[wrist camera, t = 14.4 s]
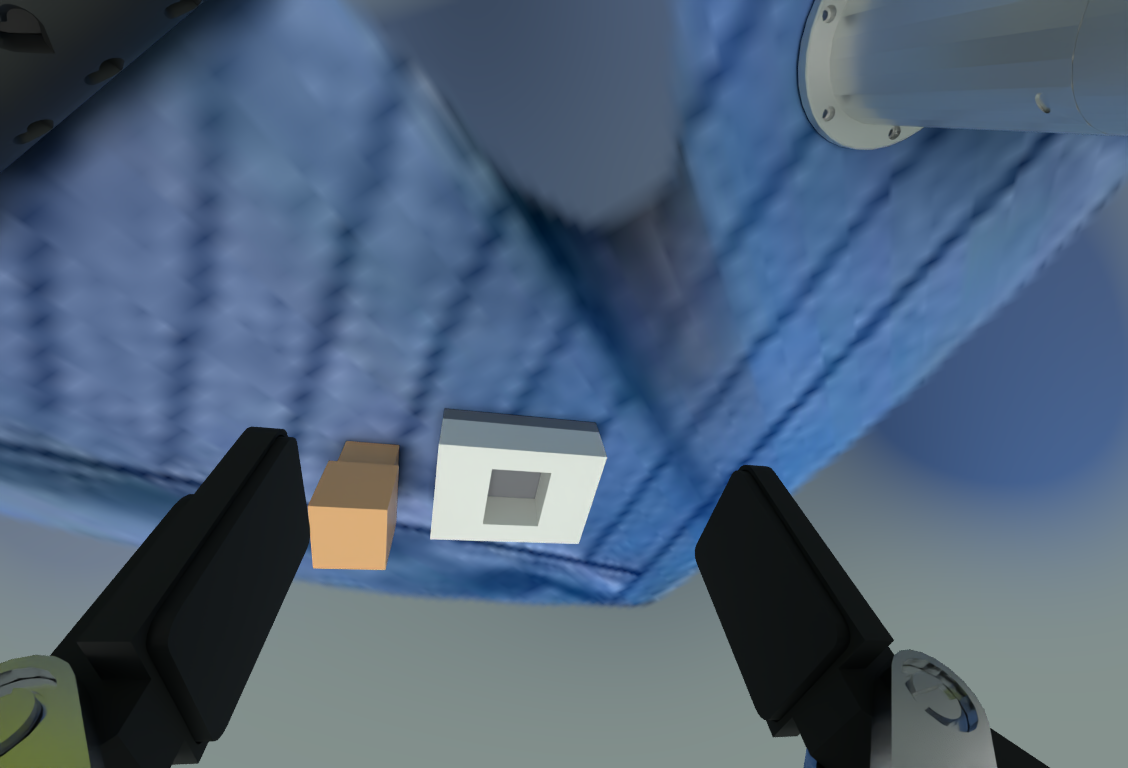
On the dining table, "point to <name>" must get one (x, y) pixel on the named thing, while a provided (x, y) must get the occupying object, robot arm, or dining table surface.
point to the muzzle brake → (68, 57)
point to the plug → (355, 508)
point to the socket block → (515, 477)
